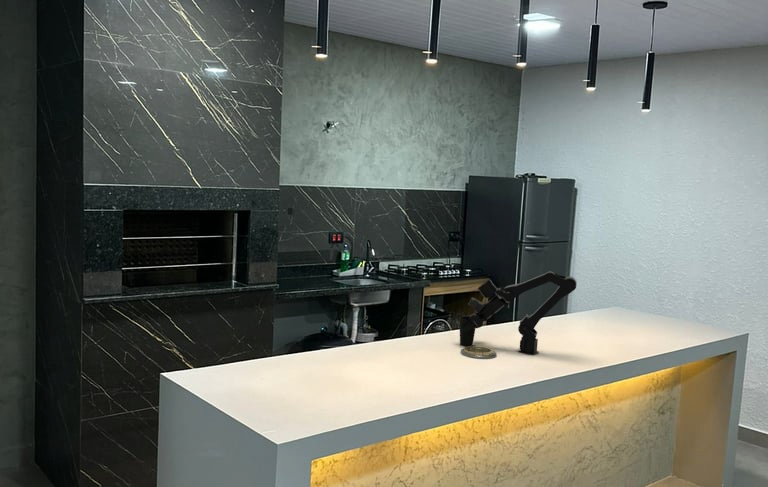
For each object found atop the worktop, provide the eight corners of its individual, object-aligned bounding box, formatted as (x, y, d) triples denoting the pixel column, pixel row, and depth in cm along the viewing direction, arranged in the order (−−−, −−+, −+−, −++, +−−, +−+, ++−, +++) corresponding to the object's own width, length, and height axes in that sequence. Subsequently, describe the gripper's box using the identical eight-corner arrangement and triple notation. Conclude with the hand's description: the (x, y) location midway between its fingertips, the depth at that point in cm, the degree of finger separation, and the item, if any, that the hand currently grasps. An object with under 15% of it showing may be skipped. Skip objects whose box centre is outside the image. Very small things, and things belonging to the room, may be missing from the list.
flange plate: (503, 354, 289) (503, 350, 289) (485, 361, 277) (485, 356, 277) (472, 347, 298) (472, 343, 298) (453, 353, 286) (454, 348, 286)
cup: (469, 348, 297) (471, 320, 296) (454, 344, 302) (456, 317, 301) (478, 345, 303) (480, 318, 302) (463, 341, 308) (465, 315, 307)
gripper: (483, 289, 308) (457, 310, 312) (477, 295, 290) (449, 318, 294) (499, 308, 307) (473, 329, 311) (494, 316, 289) (466, 338, 293)
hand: (465, 328), depth 302 cm, fingers open, 9 cm apart
